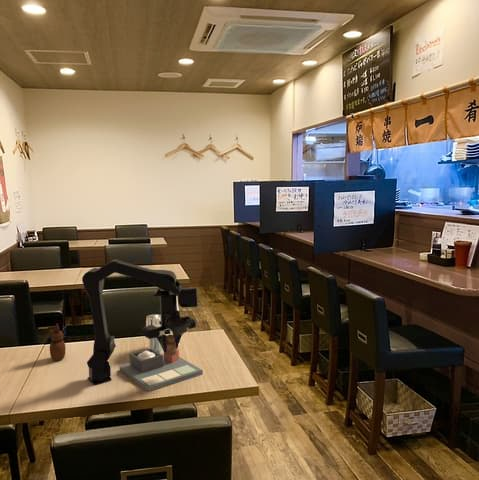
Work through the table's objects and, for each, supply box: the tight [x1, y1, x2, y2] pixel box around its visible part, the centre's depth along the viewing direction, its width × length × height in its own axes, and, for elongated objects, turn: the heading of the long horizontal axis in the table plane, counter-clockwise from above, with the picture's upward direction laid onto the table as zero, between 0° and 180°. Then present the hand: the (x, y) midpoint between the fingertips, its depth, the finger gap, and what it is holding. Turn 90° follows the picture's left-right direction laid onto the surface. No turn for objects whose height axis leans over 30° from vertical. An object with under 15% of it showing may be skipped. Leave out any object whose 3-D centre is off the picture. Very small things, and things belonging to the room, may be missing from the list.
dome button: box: [138, 351, 155, 360], centre depth 175 cm, size 6×6×4 cm
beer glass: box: [145, 313, 164, 355], centre depth 192 cm, size 7×7×15 cm
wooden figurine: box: [49, 322, 66, 361], centre depth 185 cm, size 7×6×15 cm
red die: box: [163, 348, 180, 363], centre depth 181 cm, size 4×4×4 cm
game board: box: [119, 348, 204, 392], centre depth 174 cm, size 22×22×6 cm
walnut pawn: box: [165, 334, 176, 356], centre depth 166 cm, size 4×4×7 cm
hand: (170, 350), depth 167 cm, fingers closed on walnut pawn, 4 cm apart
